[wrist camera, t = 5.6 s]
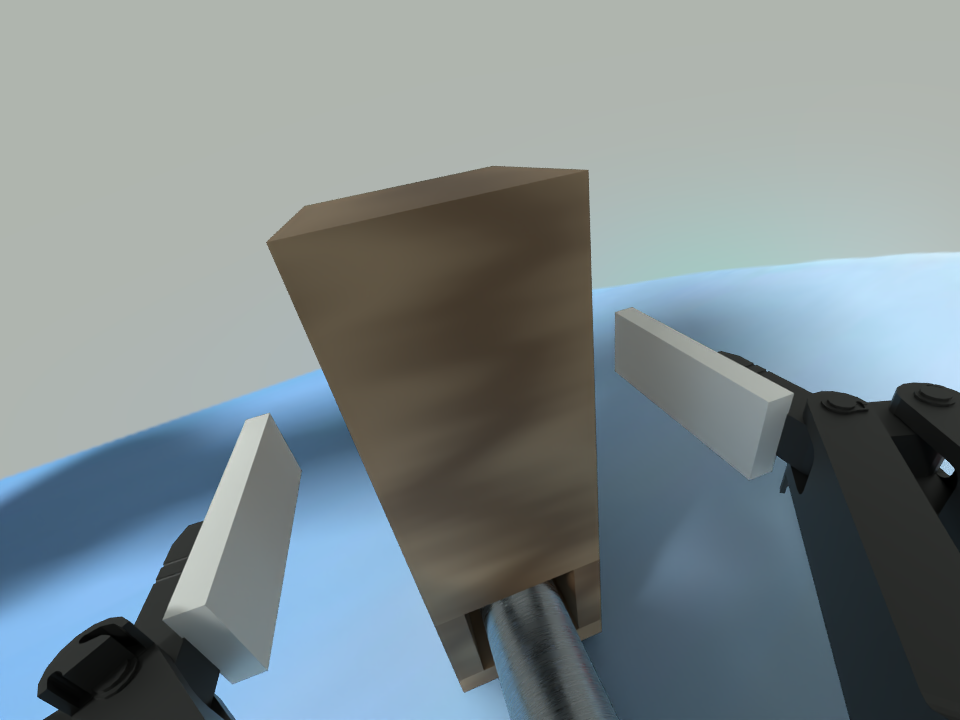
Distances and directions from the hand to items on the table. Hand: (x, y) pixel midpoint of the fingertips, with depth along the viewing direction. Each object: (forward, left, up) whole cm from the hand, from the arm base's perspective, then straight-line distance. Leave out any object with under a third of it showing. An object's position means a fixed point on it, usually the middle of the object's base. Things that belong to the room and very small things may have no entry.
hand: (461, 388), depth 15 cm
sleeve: (0, -2, -11) cm, 11 cm away
